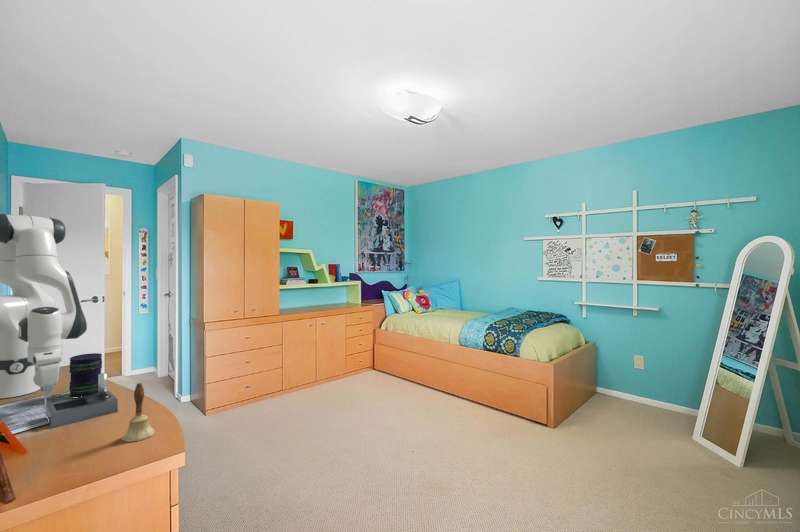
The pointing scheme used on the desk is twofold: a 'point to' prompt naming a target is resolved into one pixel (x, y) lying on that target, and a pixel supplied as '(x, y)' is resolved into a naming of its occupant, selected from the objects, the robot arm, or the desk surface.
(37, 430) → the desk surface
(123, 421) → the desk surface
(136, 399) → the hand bell
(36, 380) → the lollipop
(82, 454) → the desk surface
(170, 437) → the desk surface
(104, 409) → the grey stand
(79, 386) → the storage jar
